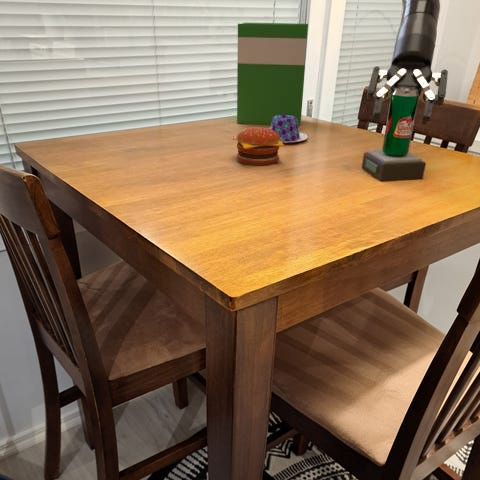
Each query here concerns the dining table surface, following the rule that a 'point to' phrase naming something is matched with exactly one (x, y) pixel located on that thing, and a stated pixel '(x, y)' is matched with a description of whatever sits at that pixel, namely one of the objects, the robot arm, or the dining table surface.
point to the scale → (393, 166)
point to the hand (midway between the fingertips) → (400, 120)
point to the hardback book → (270, 71)
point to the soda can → (400, 121)
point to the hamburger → (258, 146)
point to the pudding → (287, 129)
